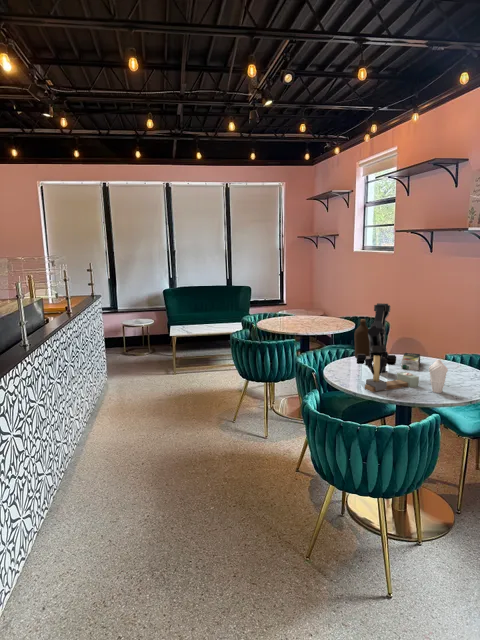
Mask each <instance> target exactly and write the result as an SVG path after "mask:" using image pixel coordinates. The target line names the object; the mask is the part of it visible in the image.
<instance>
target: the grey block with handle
mask: <svg viewBox="0 0 480 640" xmlns="http://www.w3.org/2000/svg"><path fill="white" fill-rule="evenodd" d="M373 363H374V364H373ZM373 363H372V365H373V371H374V374H372V378H368V379H365V385H367V384H369V385H371V386H373V387H375V390H376V392H379V391H378V390H383V391H386V390H385V389H387V381H385V380H382V379H380V376H381V375H380V356H379V355H374V361H373Z"/></svg>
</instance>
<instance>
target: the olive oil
mask: <svg viewBox="0 0 480 640" xmlns="http://www.w3.org/2000/svg"><path fill="white" fill-rule="evenodd" d="M359 322H360V323H359V324H360V325H359V326H358V327H357V328H356V329H355V331H354V333H353V334H354V338H353V339H354V358H356V359H357V354H365V357H366V356H370V341H369V336H368V330H369V327H368V326H367V322H366V319H365V318H361V319H360V320H359Z"/></svg>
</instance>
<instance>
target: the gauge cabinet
mask: <svg viewBox="0 0 480 640" xmlns="http://www.w3.org/2000/svg"><path fill="white" fill-rule="evenodd" d="M396 380H402V381H405V382H407V383H408V388H417V387H419V382H420V377H419V376H417V375H414V374H413V373H411V372H406V371H401V372H397V373H396Z"/></svg>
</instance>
